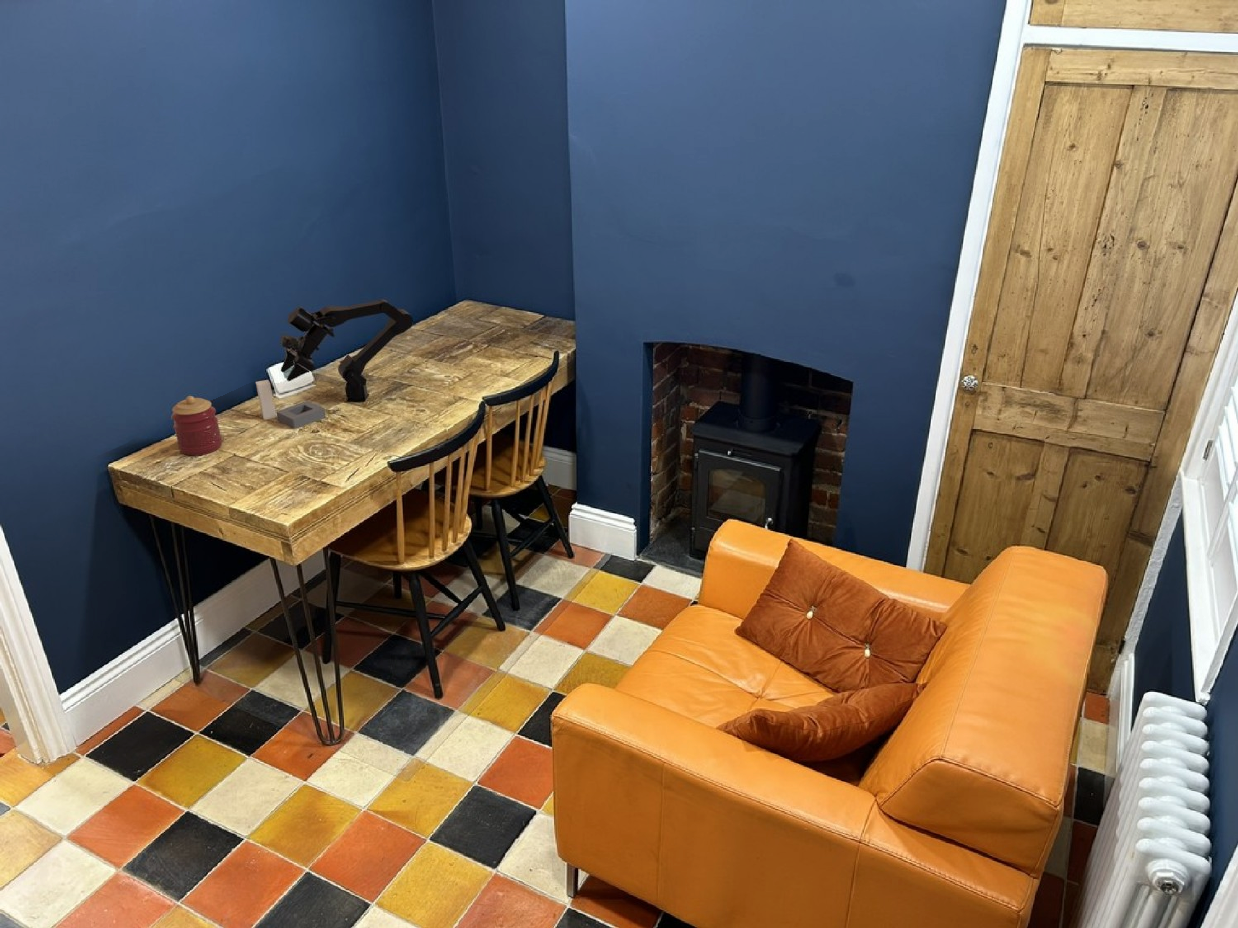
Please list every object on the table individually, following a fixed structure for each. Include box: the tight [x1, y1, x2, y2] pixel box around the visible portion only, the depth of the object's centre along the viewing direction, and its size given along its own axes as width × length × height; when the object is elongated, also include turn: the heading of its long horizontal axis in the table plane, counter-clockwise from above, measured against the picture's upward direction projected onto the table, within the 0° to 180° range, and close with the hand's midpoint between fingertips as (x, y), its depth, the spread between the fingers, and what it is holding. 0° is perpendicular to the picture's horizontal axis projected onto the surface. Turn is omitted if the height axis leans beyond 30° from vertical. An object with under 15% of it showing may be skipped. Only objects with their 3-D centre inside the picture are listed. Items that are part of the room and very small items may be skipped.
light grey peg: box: [255, 379, 277, 420], centre depth 318 cm, size 4×4×12 cm
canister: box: [170, 395, 223, 456], centre depth 296 cm, size 13×13×18 cm
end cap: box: [276, 400, 327, 430], centre depth 317 cm, size 12×10×4 cm
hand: (284, 376), depth 317 cm, fingers open, 9 cm apart
